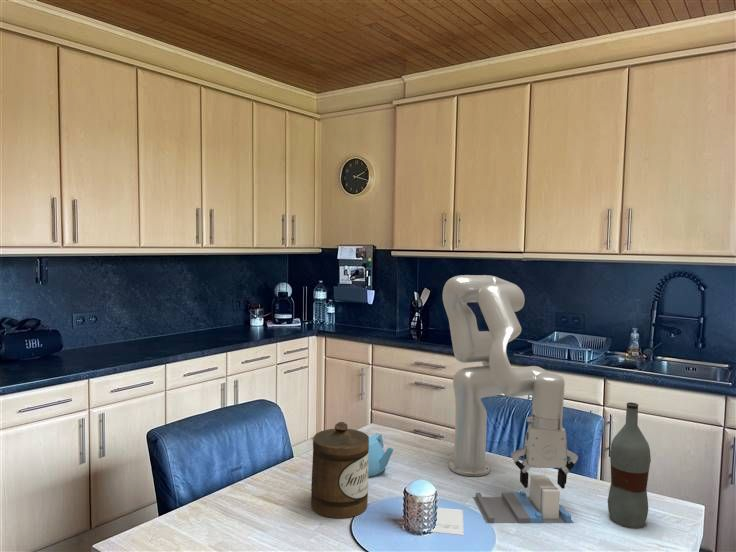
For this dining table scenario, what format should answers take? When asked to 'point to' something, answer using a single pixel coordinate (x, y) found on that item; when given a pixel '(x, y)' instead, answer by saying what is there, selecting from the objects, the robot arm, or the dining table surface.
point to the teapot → (377, 455)
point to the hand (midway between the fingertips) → (542, 485)
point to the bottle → (629, 473)
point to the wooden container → (340, 472)
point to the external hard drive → (449, 521)
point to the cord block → (544, 496)
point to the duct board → (514, 509)
